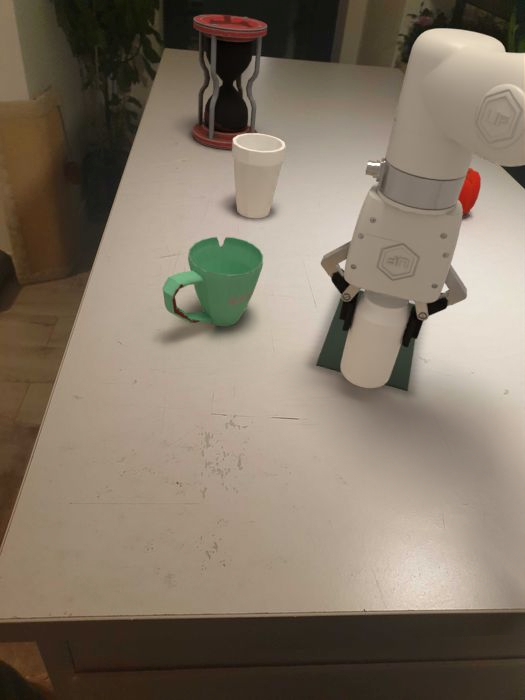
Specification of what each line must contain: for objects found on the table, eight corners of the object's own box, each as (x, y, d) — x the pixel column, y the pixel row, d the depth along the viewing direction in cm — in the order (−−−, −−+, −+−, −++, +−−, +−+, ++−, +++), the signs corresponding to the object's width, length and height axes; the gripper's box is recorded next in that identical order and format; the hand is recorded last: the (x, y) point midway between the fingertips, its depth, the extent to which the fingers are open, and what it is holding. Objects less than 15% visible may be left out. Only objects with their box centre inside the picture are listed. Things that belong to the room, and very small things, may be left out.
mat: (407, 390, 67) (407, 389, 67) (316, 365, 69) (316, 364, 69) (419, 306, 82) (420, 305, 82) (344, 287, 84) (344, 286, 84)
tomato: (412, 213, 107) (425, 170, 101) (426, 193, 116) (439, 152, 110) (464, 229, 104) (480, 185, 98) (475, 207, 112) (491, 166, 107)
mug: (225, 288, 80) (229, 229, 74) (271, 319, 75) (279, 259, 69) (145, 324, 72) (141, 261, 65) (190, 362, 67) (190, 298, 60)
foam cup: (279, 204, 105) (288, 137, 96) (274, 225, 98) (283, 155, 89) (232, 197, 105) (236, 130, 97) (224, 217, 98) (228, 147, 90)
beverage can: (330, 362, 67) (349, 283, 59) (374, 355, 69) (397, 277, 61) (352, 396, 62) (375, 315, 55) (397, 388, 64) (426, 308, 56)
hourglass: (268, 136, 134) (279, 23, 118) (239, 155, 122) (247, 32, 106) (212, 122, 138) (216, 11, 122) (179, 139, 127) (178, 18, 111)
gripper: (322, 178, 48) (296, 331, 60) (517, 219, 45) (450, 372, 57) (338, 152, 54) (311, 297, 65) (512, 187, 51) (452, 332, 62)
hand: (376, 331), depth 61 cm, fingers closed on beverage can, 6 cm apart
